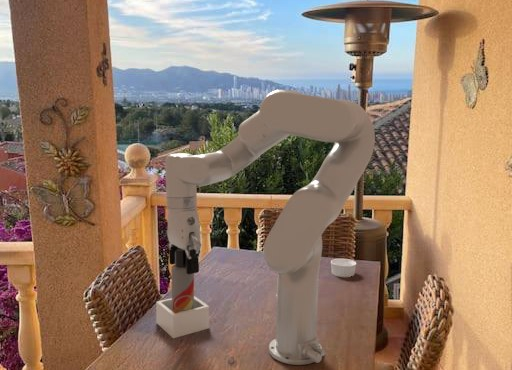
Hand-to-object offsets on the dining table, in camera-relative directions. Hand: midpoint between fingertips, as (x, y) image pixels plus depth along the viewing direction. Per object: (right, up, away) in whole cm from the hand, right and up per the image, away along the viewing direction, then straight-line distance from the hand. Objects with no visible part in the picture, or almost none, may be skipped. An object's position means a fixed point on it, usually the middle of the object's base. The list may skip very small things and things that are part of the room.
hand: (183, 268), depth 123 cm
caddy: (-1, -16, +3) cm, 16 cm away
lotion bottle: (-1, -15, +3) cm, 15 cm away
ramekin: (+49, -10, +45) cm, 67 cm away
